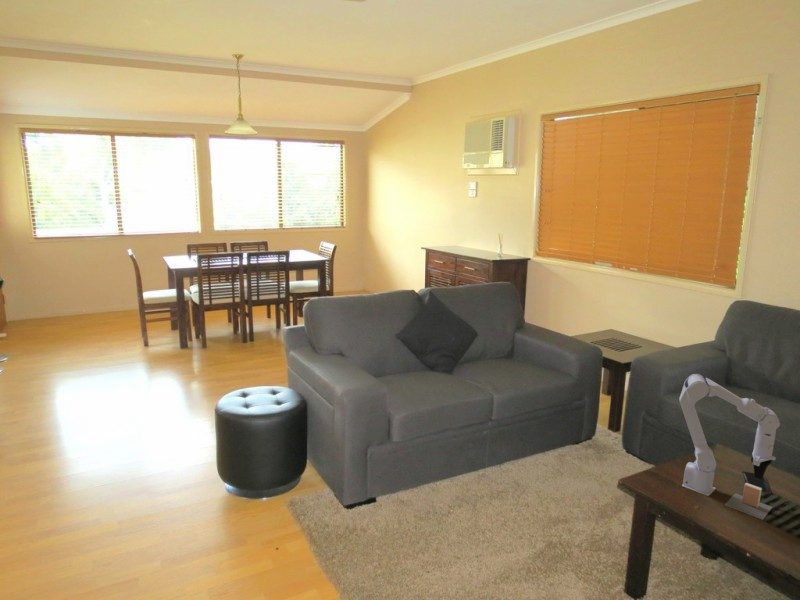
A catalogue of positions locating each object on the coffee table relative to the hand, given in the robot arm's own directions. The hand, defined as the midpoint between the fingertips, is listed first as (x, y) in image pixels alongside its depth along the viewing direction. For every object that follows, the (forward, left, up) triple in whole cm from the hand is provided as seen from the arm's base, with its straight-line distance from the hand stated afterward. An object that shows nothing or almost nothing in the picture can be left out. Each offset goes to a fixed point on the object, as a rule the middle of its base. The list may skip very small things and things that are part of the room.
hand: (758, 477), depth 203 cm
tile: (0, -6, -9) cm, 10 cm away
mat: (0, -8, -9) cm, 12 cm away
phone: (-3, +13, -10) cm, 17 cm away
